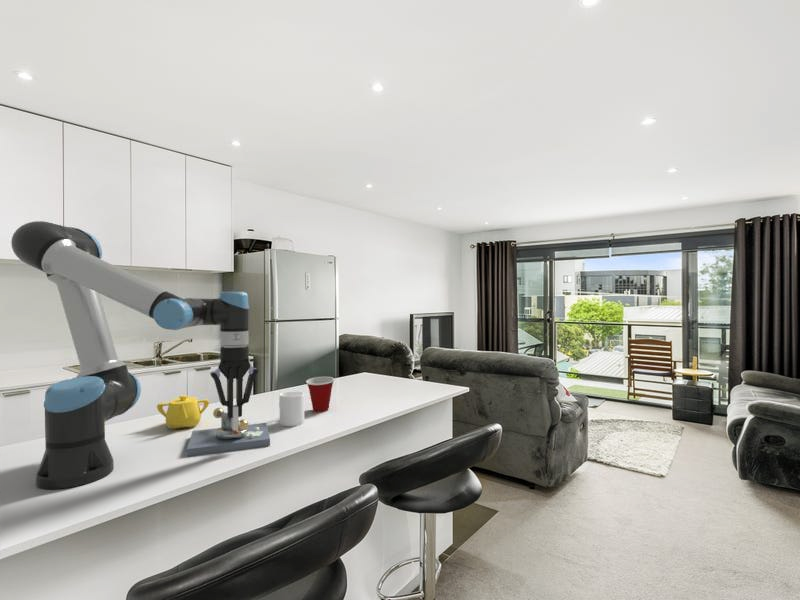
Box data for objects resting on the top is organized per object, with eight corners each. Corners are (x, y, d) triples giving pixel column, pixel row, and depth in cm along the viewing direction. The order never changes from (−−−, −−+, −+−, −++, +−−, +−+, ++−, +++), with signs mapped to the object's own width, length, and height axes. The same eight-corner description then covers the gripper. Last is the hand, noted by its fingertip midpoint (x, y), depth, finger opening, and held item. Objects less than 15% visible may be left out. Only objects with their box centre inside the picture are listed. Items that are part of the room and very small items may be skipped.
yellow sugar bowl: (214, 423, 147) (214, 393, 147) (180, 434, 136) (180, 402, 136) (187, 418, 153) (187, 390, 153) (153, 428, 142) (153, 397, 142)
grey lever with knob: (202, 429, 133) (201, 409, 133) (230, 423, 139) (230, 404, 139) (229, 446, 117) (229, 424, 117) (260, 439, 124) (259, 417, 124)
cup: (288, 428, 141) (287, 398, 141) (269, 421, 149) (269, 392, 149) (309, 422, 147) (308, 393, 147) (290, 416, 155) (290, 388, 155)
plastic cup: (300, 411, 161) (299, 380, 161) (318, 405, 170) (318, 375, 170) (322, 415, 156) (322, 383, 156) (340, 408, 165) (340, 377, 165)
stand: (186, 456, 117) (186, 444, 117) (192, 437, 133) (192, 427, 133) (270, 445, 125) (269, 434, 125) (266, 428, 141) (266, 419, 141)
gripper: (212, 348, 114) (212, 436, 114) (261, 345, 121) (261, 428, 121) (207, 346, 120) (208, 429, 120) (254, 343, 127) (254, 421, 127)
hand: (234, 428), depth 120 cm, fingers closed
